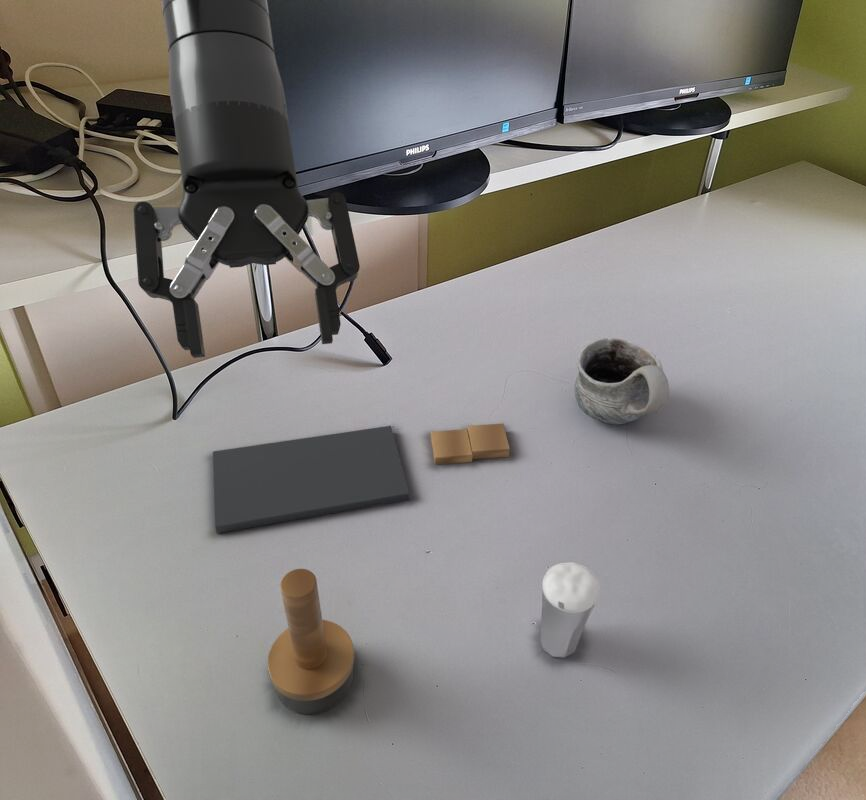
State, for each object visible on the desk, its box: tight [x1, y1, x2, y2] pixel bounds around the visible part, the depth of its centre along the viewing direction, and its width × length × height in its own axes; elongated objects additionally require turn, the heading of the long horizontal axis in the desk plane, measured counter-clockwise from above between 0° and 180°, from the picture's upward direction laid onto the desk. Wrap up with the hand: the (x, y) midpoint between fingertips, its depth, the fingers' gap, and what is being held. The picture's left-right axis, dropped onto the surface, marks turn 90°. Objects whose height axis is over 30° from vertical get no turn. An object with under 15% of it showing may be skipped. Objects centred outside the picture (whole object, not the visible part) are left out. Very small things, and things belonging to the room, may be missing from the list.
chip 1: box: [430, 428, 473, 466], centre depth 81 cm, size 4×4×1 cm
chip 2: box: [466, 423, 510, 460], centre depth 82 cm, size 4×4×1 cm
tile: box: [212, 425, 410, 534], centre depth 76 cm, size 18×10×1 cm, turn 109°
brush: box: [267, 568, 355, 715], centre depth 57 cm, size 6×6×13 cm
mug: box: [574, 336, 670, 425], centre depth 85 cm, size 10×12×10 cm
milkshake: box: [539, 561, 601, 659], centre depth 62 cm, size 4×5×10 cm
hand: (264, 349), depth 53 cm, fingers open, 8 cm apart
